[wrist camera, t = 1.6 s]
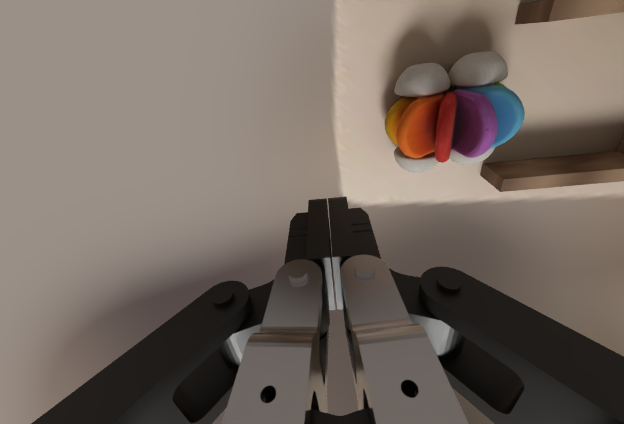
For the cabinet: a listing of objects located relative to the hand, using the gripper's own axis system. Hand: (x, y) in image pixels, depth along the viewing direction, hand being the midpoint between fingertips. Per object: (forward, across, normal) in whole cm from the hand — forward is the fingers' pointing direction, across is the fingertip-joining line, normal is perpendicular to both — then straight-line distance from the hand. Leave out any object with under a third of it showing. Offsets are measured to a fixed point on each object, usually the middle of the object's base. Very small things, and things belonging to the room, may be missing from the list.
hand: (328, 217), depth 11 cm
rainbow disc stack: (+16, -10, 0) cm, 19 cm away
